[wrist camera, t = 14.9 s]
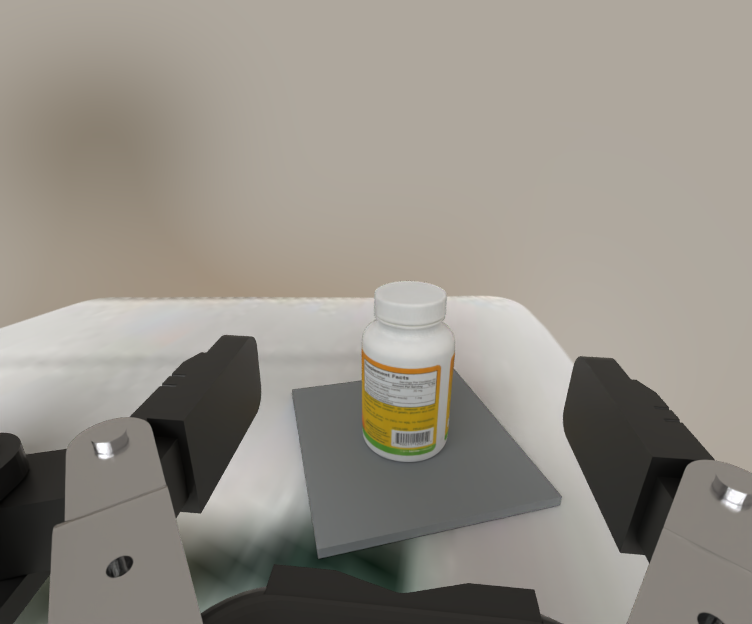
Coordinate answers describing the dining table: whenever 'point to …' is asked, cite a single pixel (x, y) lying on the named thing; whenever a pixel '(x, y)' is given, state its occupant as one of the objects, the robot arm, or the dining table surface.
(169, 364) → the dining table surface
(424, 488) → the mat
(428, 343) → the supplement bottle
